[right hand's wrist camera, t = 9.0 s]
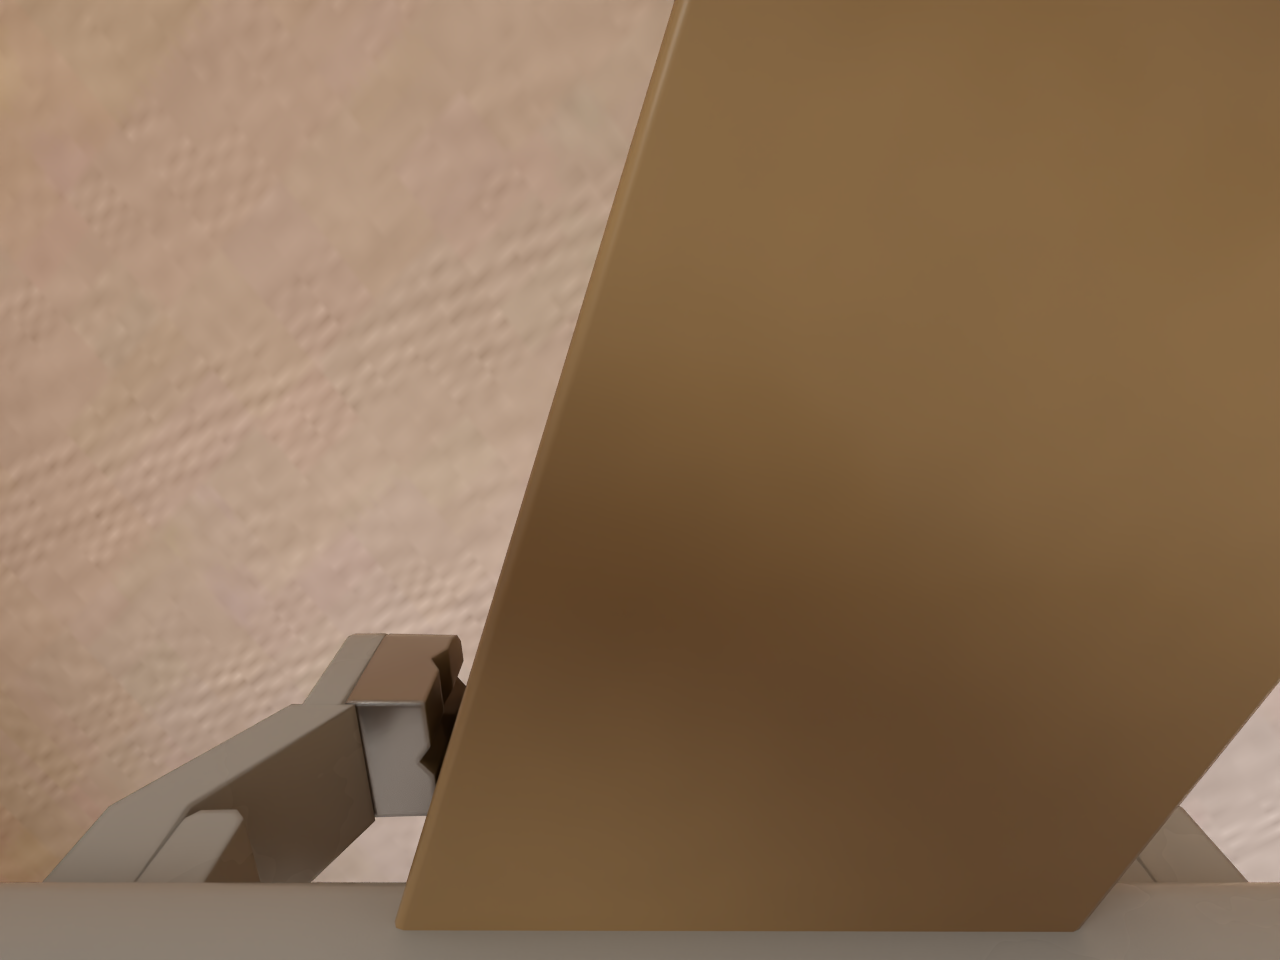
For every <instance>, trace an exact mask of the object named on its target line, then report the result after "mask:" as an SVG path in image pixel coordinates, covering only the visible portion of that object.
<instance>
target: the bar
mask: <svg viewBox="0 0 1280 960" xmlns="http://www.w3.org/2000/svg"><path fill="white" fill-rule="evenodd" d="M1279 681H1280V0H675V1H674V5H673V8H672V11H671V14H670V18H669V21H668V24H667V28H666V31H665V34H664V37H663V41H662V44H661V47H660V51H659V54H658V57H657V60H656V64H655V67H654V70H653V74H652V77H651V80H650V84H649V87H648V90H647V93H646V97H645V100H644V103H643V107H642V110H641V113H640V116H639V120H638V123H637V126H636V130H635V133H634V136H633V139H632V143H631V146H630V149H629V153H628V156H627V159H626V162H625V166H624V169H623V172H622V176H621V179H620V182H619V185H618V189H617V192H616V195H615V199H614V202H613V205H612V208H611V212H610V215H609V218H608V222H607V225H606V228H605V231H604V235H603V238H602V241H601V245H600V248H599V251H598V254H597V258H596V261H595V264H594V268H593V271H592V274H591V277H590V281H589V284H588V287H587V291H586V294H585V297H584V301H583V304H582V307H581V310H580V314H579V317H578V320H577V324H576V327H575V330H574V333H573V337H572V340H571V343H570V347H569V350H568V353H567V356H566V360H565V363H564V366H563V370H562V373H561V376H560V379H559V383H558V386H557V389H556V393H555V396H554V399H553V402H552V406H551V409H550V412H549V416H548V419H547V422H546V425H545V429H544V432H543V435H542V439H541V442H540V445H539V448H538V452H537V455H536V458H535V462H534V465H533V468H532V471H531V475H530V478H529V481H528V485H527V488H526V491H525V494H524V498H523V501H522V504H521V508H520V511H519V514H518V518H517V521H516V524H515V527H514V531H513V534H512V537H511V541H510V544H509V547H508V550H507V554H506V557H505V560H504V564H503V567H502V570H501V573H500V577H499V580H498V583H497V587H496V590H495V593H494V596H493V600H492V603H491V606H490V610H489V613H488V616H487V619H486V623H485V626H484V629H483V633H482V636H481V639H480V642H479V646H478V649H477V652H476V656H475V659H474V662H473V665H472V669H471V672H470V675H469V679H468V682H467V685H466V688H465V692H464V695H463V698H462V702H461V705H460V708H459V711H458V715H457V718H456V721H455V725H454V728H453V731H452V735H451V738H450V741H449V744H448V748H447V751H446V754H445V758H444V761H443V764H442V767H441V771H440V774H439V777H438V781H437V784H436V787H435V790H434V794H433V797H432V800H431V804H430V807H429V810H428V813H427V817H426V820H425V823H424V827H423V830H422V833H421V836H420V840H419V843H418V846H417V850H416V853H415V856H414V859H413V863H412V866H411V869H410V873H409V876H408V879H407V882H406V886H405V889H404V892H403V896H402V899H401V902H400V905H399V909H398V912H397V915H396V919H395V926H396V928H398V929H401V930H449V931H873V932H1074V931H1076V930H1079V929H1080V928H1081V926H1082V925H1083V924H1084V923H1085V921H1086V920H1087V919H1088V918H1089V917H1090V915H1091V914H1092V913H1093V912H1094V910H1095V909H1096V908H1097V907H1098V905H1099V904H1100V903H1101V902H1102V900H1103V899H1104V898H1105V897H1106V895H1107V894H1108V893H1109V892H1110V891H1111V889H1112V888H1113V887H1114V886H1115V884H1116V883H1117V882H1118V881H1119V879H1120V878H1121V877H1122V876H1123V874H1124V873H1125V872H1126V871H1127V870H1128V868H1129V867H1130V866H1131V865H1132V863H1133V862H1134V861H1135V860H1136V858H1137V857H1138V856H1139V855H1140V853H1141V852H1142V851H1143V850H1144V848H1145V847H1146V846H1147V845H1148V844H1149V842H1150V841H1151V840H1152V839H1153V837H1154V836H1155V835H1156V834H1157V832H1158V831H1159V830H1160V829H1161V827H1162V826H1163V825H1164V824H1165V822H1166V821H1167V820H1168V819H1169V818H1170V816H1171V815H1172V814H1173V813H1174V811H1175V810H1176V809H1177V808H1178V806H1179V805H1180V804H1181V803H1182V801H1183V800H1184V799H1185V798H1186V796H1187V795H1188V794H1189V793H1190V792H1191V790H1192V789H1193V788H1194V787H1195V785H1196V784H1197V783H1198V782H1199V780H1200V779H1201V778H1202V777H1203V775H1204V774H1205V773H1206V772H1207V771H1208V769H1209V768H1210V767H1211V766H1212V764H1213V763H1214V762H1215V761H1216V759H1217V758H1218V757H1219V756H1220V754H1221V753H1222V752H1223V751H1224V749H1225V748H1226V747H1227V746H1228V745H1229V743H1230V742H1231V741H1232V740H1233V738H1234V737H1235V736H1236V735H1237V733H1238V732H1239V731H1240V730H1241V728H1242V727H1243V726H1244V725H1245V723H1246V722H1247V721H1248V720H1249V719H1250V717H1251V716H1252V715H1253V714H1254V712H1255V711H1256V710H1257V709H1258V707H1259V706H1260V705H1261V704H1262V702H1263V701H1264V700H1265V699H1266V697H1267V696H1268V695H1269V694H1270V693H1271V691H1272V690H1273V689H1274V688H1275V686H1276V685H1277V684H1278V683H1279Z"/></svg>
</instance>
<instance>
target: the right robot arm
mask: <svg viewBox="0 0 1280 960" xmlns="http://www.w3.org/2000/svg"><path fill="white" fill-rule="evenodd" d="M462 663H463V654H462V646H461V641H460V639H459V638H458V636H457V635H428V634H389V635H388V634H386V633H376V634H353V635H351V636H349V637H348V638H347V639H346V640H345V642H344V643H343V645H342V646H341V648H340V649H339V651H338V652H337V654H336V655H335V657H334V658H333V660H332V661H331V663H330V664H329V666H328V667H327V669H326V670H325V671H324V673H323V674H322V676H321V677H320V679H319V680H318V682H317V683H316V685H315V686H314V688H313V689H312V691H311V692H310V694H309V695H308V697H307V698H306V700H305V701H304V703H303V704H291V705H289V706H288V707H286V708H284V709H282V710H280V711H279V712H277V713H275V714H273V715H271V716H270V717H268V718H266V719H264V720H263V721H261V722H259V723H257V724H255V725H254V726H252V727H250V728H248V729H246V730H245V731H243V732H241V733H239V734H238V735H236V736H234V737H232V738H230V739H229V740H227V741H225V742H223V743H221V744H220V745H218V746H216V747H214V748H213V749H211V750H209V751H207V752H205V753H204V754H202V755H200V756H198V757H196V758H195V759H193V760H191V761H189V762H188V763H186V764H184V765H182V766H180V767H179V768H177V769H175V770H173V771H171V772H170V773H168V774H166V775H164V776H162V777H161V778H159V779H157V780H155V781H154V782H152V783H150V784H148V785H146V786H145V787H143V788H141V789H139V790H137V791H136V792H134V793H132V794H130V795H129V796H127V797H125V798H123V799H121V800H120V801H118V802H116V803H114V804H112V805H111V806H109V807H108V808H107V809H106V810H105V811H104V813H103V814H102V815H101V816H100V817H99V818H98V819H97V821H96V822H95V823H94V824H93V825H92V826H91V827H90V828H89V830H88V831H87V832H86V833H85V834H84V835H83V836H82V838H81V839H80V840H79V841H78V842H77V843H76V844H75V846H74V847H73V848H72V849H71V850H70V851H69V852H68V853H67V855H66V856H65V857H64V858H63V859H62V860H61V861H60V863H59V864H58V865H57V866H56V867H55V868H54V869H53V871H52V872H51V873H50V874H49V875H48V876H47V877H46V878H45V880H44V881H43V882H0V960H1280V882H1248V881H1247V880H1246V879H1245V878H1244V876H1243V875H1242V874H1241V873H1240V872H1239V871H1238V870H1237V869H1236V867H1235V866H1234V865H1233V864H1232V863H1231V862H1230V861H1229V860H1228V858H1227V857H1226V856H1225V855H1224V854H1223V853H1222V852H1221V851H1220V849H1219V848H1218V847H1217V846H1216V845H1215V844H1214V843H1213V842H1212V840H1211V839H1210V838H1209V837H1208V836H1207V835H1206V834H1205V833H1204V831H1203V830H1202V829H1201V828H1200V827H1199V826H1198V825H1197V824H1196V823H1195V821H1194V820H1193V819H1192V818H1191V817H1190V816H1189V815H1188V814H1187V812H1186V811H1185V810H1184V809H1183V808H1182V807H1180V806H1178V808H1177V809H1176V810H1175V811H1174V813H1173V814H1172V815H1171V816H1170V818H1169V819H1168V820H1167V821H1166V822H1165V824H1164V825H1163V826H1162V827H1161V829H1160V830H1159V831H1158V832H1157V834H1156V835H1155V836H1154V837H1153V839H1152V840H1151V841H1150V842H1149V844H1148V845H1147V846H1146V847H1145V848H1144V850H1143V851H1142V852H1141V853H1140V855H1139V856H1138V857H1137V858H1136V860H1135V861H1134V862H1133V863H1132V865H1131V866H1130V867H1129V868H1128V870H1127V871H1126V872H1125V873H1124V874H1123V876H1122V877H1121V878H1120V879H1119V881H1118V882H1117V883H1116V884H1115V886H1114V887H1113V888H1112V889H1111V891H1110V892H1109V893H1108V894H1107V895H1106V897H1105V898H1104V899H1103V900H1102V902H1101V903H1100V904H1099V905H1098V907H1097V908H1096V909H1095V910H1094V912H1093V913H1092V914H1091V915H1090V917H1089V918H1088V919H1087V920H1086V921H1085V923H1084V924H1083V925H1082V926H1081V928H1080V929H1079V930H1076V931H1074V932H873V931H449V930H401V929H398V928H396V926H395V919H396V915H397V912H398V909H399V905H400V902H401V899H402V896H403V892H404V889H405V886H406V883H310V882H311V881H312V880H313V879H315V878H316V877H317V876H318V875H319V874H320V873H321V872H322V871H323V870H324V869H325V868H326V867H327V866H328V865H329V864H330V863H331V862H332V861H333V860H334V859H336V858H337V857H338V856H339V855H340V854H341V853H342V852H343V851H344V850H345V849H346V848H347V847H348V846H349V845H350V844H351V843H352V842H353V841H354V840H355V839H356V838H358V837H359V836H360V835H361V834H362V833H363V832H364V831H365V830H366V829H367V828H368V827H369V826H370V825H371V824H372V823H373V822H374V821H375V817H395V816H427V813H428V810H429V807H430V804H431V800H432V797H433V794H434V790H435V787H436V784H437V781H438V777H439V774H440V771H441V767H442V764H443V761H444V758H445V754H446V751H447V748H448V744H449V741H450V738H451V735H452V731H453V728H454V725H455V721H456V718H457V715H458V711H459V708H460V705H461V702H462V698H463V695H464V692H465V688H466V686H465V684H464V683H463V682H462V681H461V680H460V679H459V678H458V674H459V671H460V669H461V666H462Z"/></svg>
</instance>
